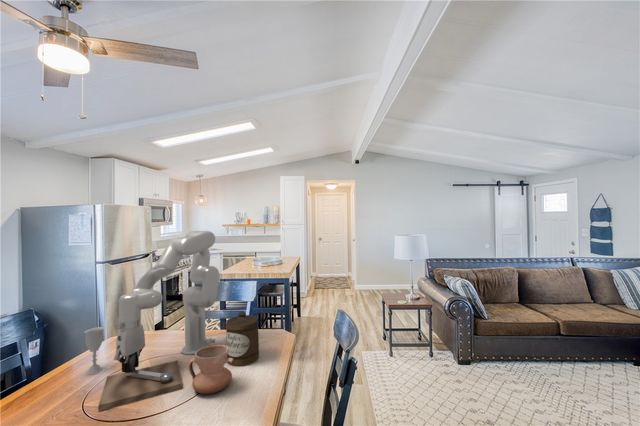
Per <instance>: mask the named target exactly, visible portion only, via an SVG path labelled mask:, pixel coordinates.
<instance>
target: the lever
mask: <svg viewBox="0 0 640 426" xmlns="http://www.w3.org/2000/svg"><path fill="white" fill-rule="evenodd" d="M128 362H129V372H128V373H126V376H131V377H138V378H145V379H152V380H158V381H160V382H161V383H166V382H169V381H171V380H172V379H173V372H165V373H156V372H149V371H141V370H138V369H136V368H137V367H135V353H133V354H131V355H129V357H128Z"/></svg>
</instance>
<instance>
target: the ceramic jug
mask: <svg viewBox="0 0 640 426" xmlns="http://www.w3.org/2000/svg"><path fill="white" fill-rule="evenodd" d="M194 355H195V357H192V358H191V359H190V360H189V361H188V372H189V374H190V376H191V378H192V385H191V387H193V388H192V389H193V390H194V391H195V392H197V393H199V394H202V395H204V394H205V395H209V394H215V393H218V392H220V391H222V390H224V389H225V388H227V387H228V385H229V384H230V383H231V382H232V380H233V374H232V371H231V370H230V369H229V368H228V367H225V364H228V363H227V362H230V363H232V361H233V358H227V355H228V347H227V346H226V345H224V344H214V345H209V346H207V347H203V348H201V349H199V350H197V351H196V353H195V354H194ZM193 363H194V364H197V366H198V369H199V372H198V373H197V374H196V373H195V371H194V367H193Z"/></svg>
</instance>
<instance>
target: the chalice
mask: <svg viewBox="0 0 640 426" xmlns="http://www.w3.org/2000/svg"><path fill="white" fill-rule="evenodd" d="M104 330H105V327H103V326H99V327H98V326H97V327H93V328H90V329H86V330H85V331H84V332H83V333H84V335H85V345H86V348H88V350H89V352H91V353H92V360H91V362H92V364H91V365H92V366H89V368H88V372H87V373H86V374H87V375H90V376H91V375H96V374H98V373H100V372H101V371H102V367H101V366H100V365H99V364H97V361H98V359H97V356H98V355H97V351H99V349H100V348H101V345H102V343H103V340H104Z"/></svg>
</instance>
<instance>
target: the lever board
mask: <svg viewBox="0 0 640 426" xmlns="http://www.w3.org/2000/svg"><path fill="white" fill-rule="evenodd" d="M137 370H141V371H149V372H156V373H165V372H173V379H172V380H171V381H169V382H166V383H161V382H160V381H158V380H152V379H145V378H138V377H131V376H126V373H125V372H121V373H117V374H113V375H109V376H106V380H105V383H104V385H103V390H102V393H101V395H100V399H99V402H98V405H97V406H98V407H97V409H98V412H101V411H105V410H109V409H112V408H116V407H120V406H124V405H128V404H130V402H131V403H134V401H135V402H137V401H142V400H146V399H149V398H152V397H156V396H159V394H160V395H164V394H167V393H171V392H174V391H173V390H175V391H178V390H181V388H182V386H183V384H182V377H181V373H180V366H179V360H177V359H176V360H173V361H169V362H164V363H161V364H156V365H151V366H147V367H143V368H139V369H137ZM177 389H178V390H177ZM170 391H171V392H170ZM163 393H164V394H163ZM141 399H142V400H141ZM123 404H124V405H123Z"/></svg>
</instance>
